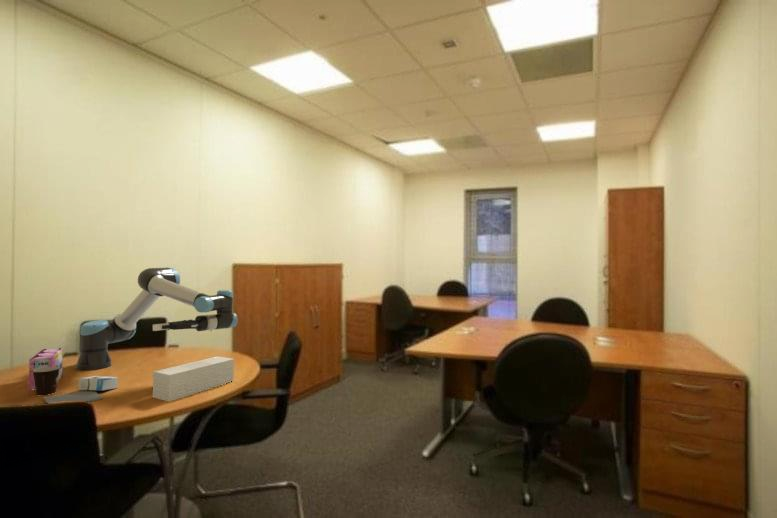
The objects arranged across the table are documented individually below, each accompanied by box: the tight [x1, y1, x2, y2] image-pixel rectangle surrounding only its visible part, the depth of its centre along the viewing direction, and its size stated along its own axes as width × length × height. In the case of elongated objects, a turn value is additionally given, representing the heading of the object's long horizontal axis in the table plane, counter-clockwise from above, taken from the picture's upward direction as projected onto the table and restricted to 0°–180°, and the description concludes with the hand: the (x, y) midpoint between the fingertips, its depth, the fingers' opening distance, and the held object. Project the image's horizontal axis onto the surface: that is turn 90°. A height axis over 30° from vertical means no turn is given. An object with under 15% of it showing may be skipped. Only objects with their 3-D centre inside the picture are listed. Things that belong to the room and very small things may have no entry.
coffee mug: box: [33, 367, 60, 396], centre depth 174 cm, size 12×9×10 cm
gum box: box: [28, 347, 64, 391], centre depth 191 cm, size 24×8×14 cm, turn 28°
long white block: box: [152, 355, 235, 402], centre depth 183 cm, size 32×11×11 cm, turn 152°
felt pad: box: [43, 390, 103, 403], centre depth 168 cm, size 16×16×1 cm
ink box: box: [77, 375, 119, 392], centre depth 181 cm, size 8×5×12 cm
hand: (153, 327), depth 190 cm, fingers closed
